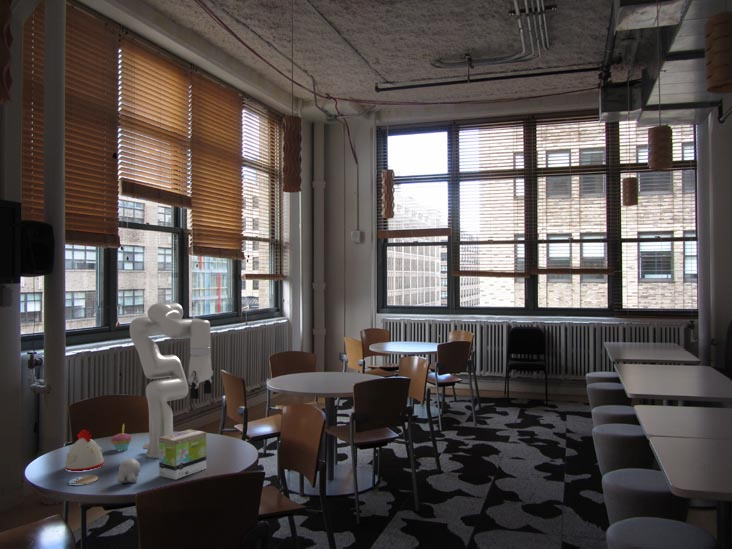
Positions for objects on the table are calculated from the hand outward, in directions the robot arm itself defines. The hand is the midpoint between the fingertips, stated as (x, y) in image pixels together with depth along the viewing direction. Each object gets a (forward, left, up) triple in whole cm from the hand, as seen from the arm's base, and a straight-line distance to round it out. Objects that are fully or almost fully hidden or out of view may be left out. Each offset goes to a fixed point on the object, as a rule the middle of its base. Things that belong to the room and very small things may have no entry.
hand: (201, 396), depth 230 cm
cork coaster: (-37, -22, -29) cm, 52 cm away
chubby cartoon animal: (-19, -17, -29) cm, 39 cm away
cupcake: (-51, +16, -29) cm, 61 cm away
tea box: (-6, -5, -29) cm, 30 cm away
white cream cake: (-49, -8, -29) cm, 57 cm away
